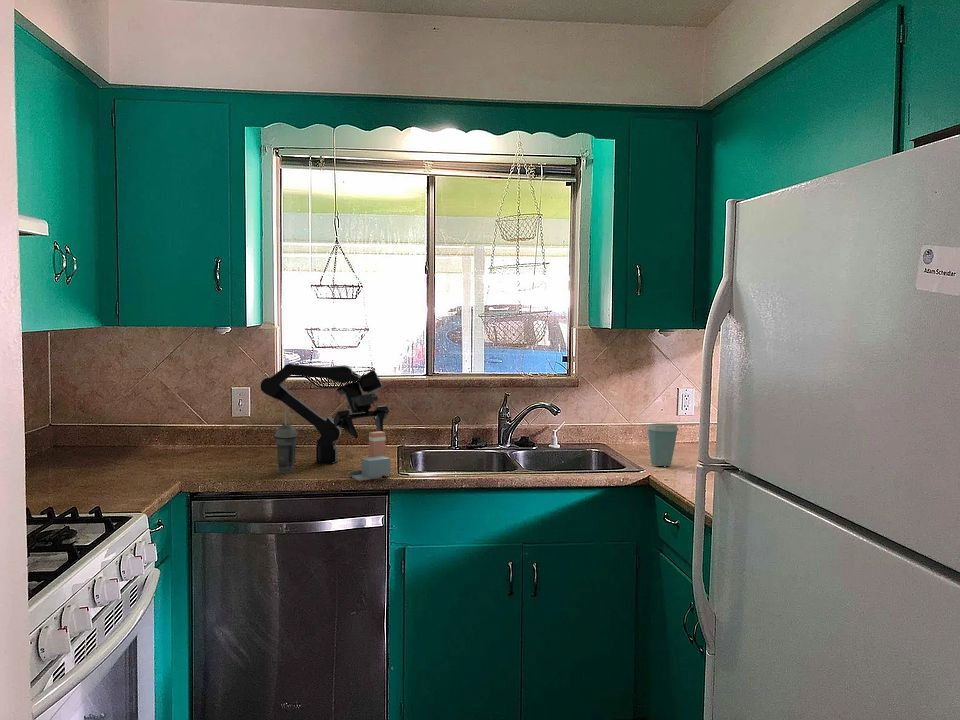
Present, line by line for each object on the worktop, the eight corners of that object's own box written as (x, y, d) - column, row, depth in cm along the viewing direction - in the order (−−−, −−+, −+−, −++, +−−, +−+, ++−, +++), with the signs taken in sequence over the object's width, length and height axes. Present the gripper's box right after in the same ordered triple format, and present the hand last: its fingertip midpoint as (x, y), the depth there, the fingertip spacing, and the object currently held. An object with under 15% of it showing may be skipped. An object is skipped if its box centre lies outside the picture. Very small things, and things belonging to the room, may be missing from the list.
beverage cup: (277, 475, 248) (277, 412, 246) (272, 470, 254) (272, 410, 253) (300, 473, 251) (300, 411, 250) (294, 468, 257) (294, 409, 256)
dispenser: (350, 477, 246) (350, 458, 245) (380, 473, 252) (380, 455, 252) (359, 481, 240) (359, 461, 240) (390, 477, 247) (390, 458, 246)
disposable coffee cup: (639, 465, 270) (641, 422, 269) (655, 461, 278) (657, 419, 277) (667, 470, 263) (668, 426, 262) (682, 465, 271) (684, 423, 270)
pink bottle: (368, 471, 255) (368, 432, 254) (380, 469, 258) (381, 431, 257) (373, 473, 252) (373, 433, 252) (385, 471, 255) (385, 432, 254)
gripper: (336, 387, 256) (350, 426, 249) (386, 382, 267) (402, 419, 259) (327, 406, 264) (341, 444, 256) (376, 401, 274) (391, 437, 267)
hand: (369, 436), depth 259 cm, fingers open, 9 cm apart
